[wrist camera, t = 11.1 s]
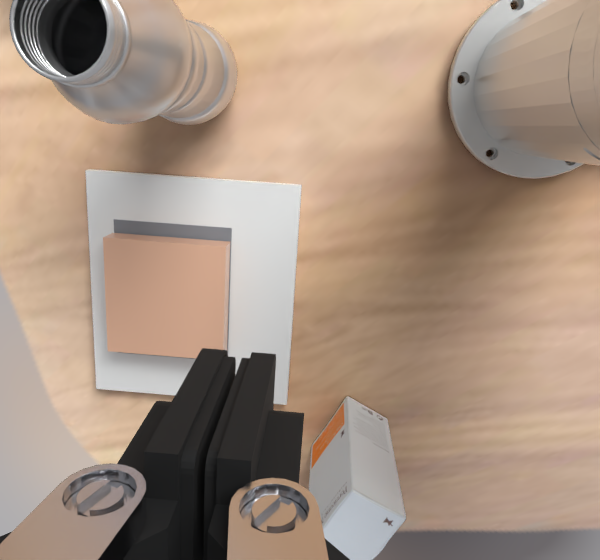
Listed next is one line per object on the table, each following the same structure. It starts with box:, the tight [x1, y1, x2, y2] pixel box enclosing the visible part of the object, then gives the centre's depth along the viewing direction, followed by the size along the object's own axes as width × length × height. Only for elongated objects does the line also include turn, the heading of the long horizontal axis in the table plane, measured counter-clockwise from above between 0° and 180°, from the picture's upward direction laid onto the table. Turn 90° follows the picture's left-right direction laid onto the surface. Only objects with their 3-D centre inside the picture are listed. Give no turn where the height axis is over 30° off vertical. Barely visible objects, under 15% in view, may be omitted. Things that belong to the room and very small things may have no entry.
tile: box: [103, 233, 230, 358], centre depth 40 cm, size 2×9×9 cm
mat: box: [85, 169, 302, 405], centre depth 41 cm, size 16×18×1 cm
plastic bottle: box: [9, 0, 237, 125], centre depth 28 cm, size 6×7×20 cm
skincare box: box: [309, 396, 406, 560], centre depth 39 cm, size 6×4×12 cm
